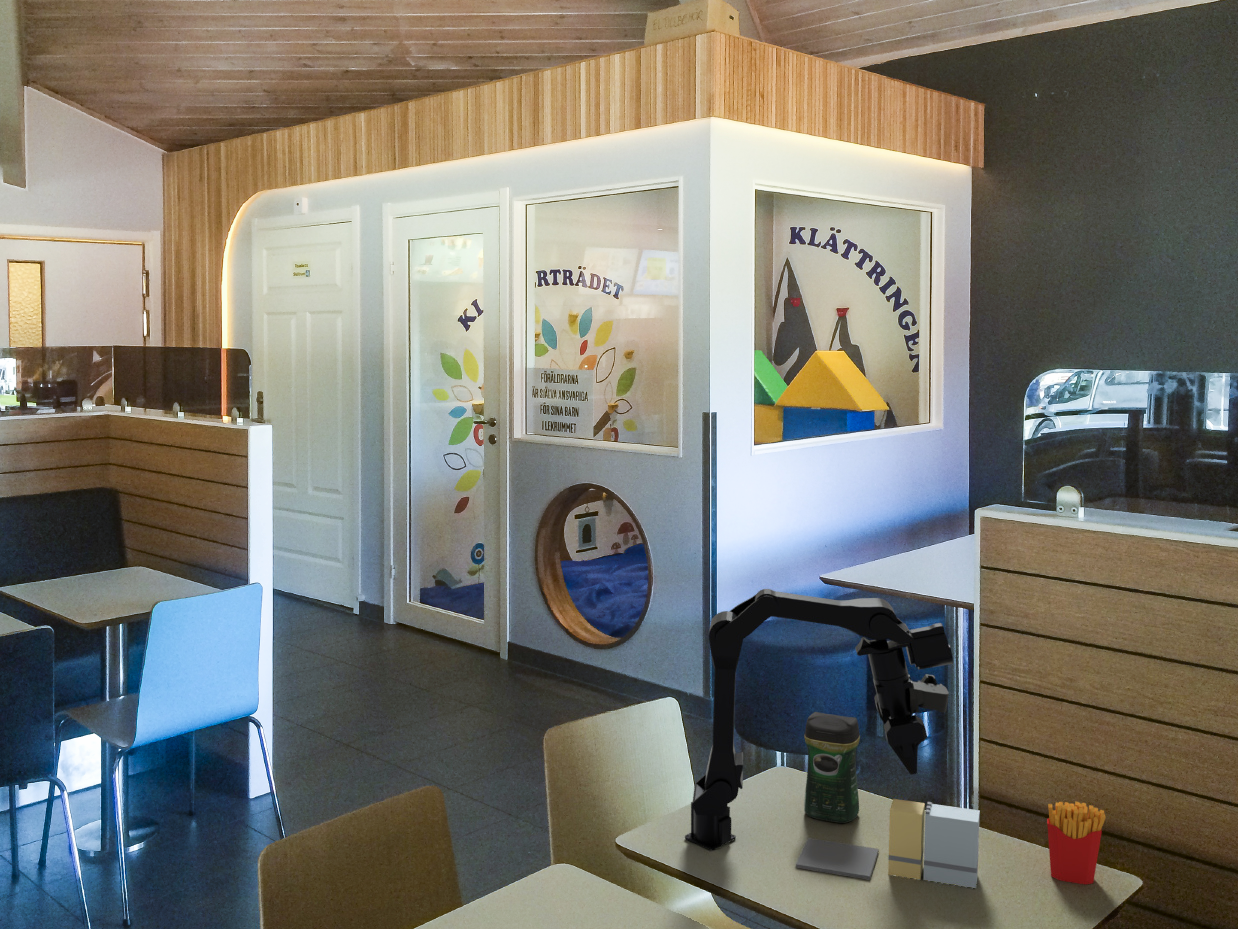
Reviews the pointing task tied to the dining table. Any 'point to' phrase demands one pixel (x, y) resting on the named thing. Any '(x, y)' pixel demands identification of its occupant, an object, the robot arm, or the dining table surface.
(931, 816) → the knobbed pale slab
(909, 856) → the block
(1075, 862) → the french fries
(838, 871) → the mat
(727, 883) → the dining table surface
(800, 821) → the dining table surface
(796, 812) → the dining table surface
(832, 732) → the coffee jar
